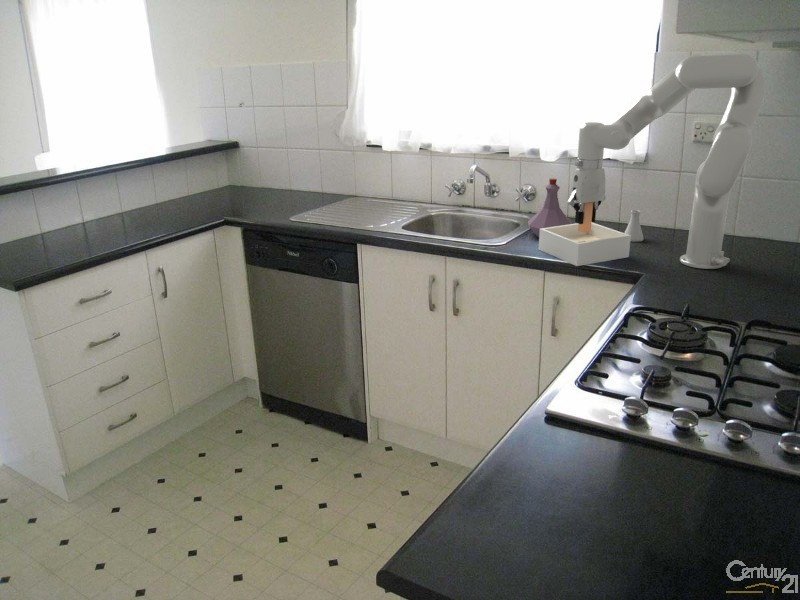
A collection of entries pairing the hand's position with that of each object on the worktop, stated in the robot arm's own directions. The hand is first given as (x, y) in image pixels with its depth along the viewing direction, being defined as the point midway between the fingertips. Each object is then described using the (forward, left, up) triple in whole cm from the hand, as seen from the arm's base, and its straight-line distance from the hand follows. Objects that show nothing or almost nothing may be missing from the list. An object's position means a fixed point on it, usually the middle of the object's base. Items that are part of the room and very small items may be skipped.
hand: (585, 221), depth 214 cm
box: (0, 0, -10) cm, 10 cm away
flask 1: (+22, -3, -11) cm, 25 cm away
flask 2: (+5, -25, -11) cm, 28 cm away
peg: (0, 0, -3) cm, 3 cm away
